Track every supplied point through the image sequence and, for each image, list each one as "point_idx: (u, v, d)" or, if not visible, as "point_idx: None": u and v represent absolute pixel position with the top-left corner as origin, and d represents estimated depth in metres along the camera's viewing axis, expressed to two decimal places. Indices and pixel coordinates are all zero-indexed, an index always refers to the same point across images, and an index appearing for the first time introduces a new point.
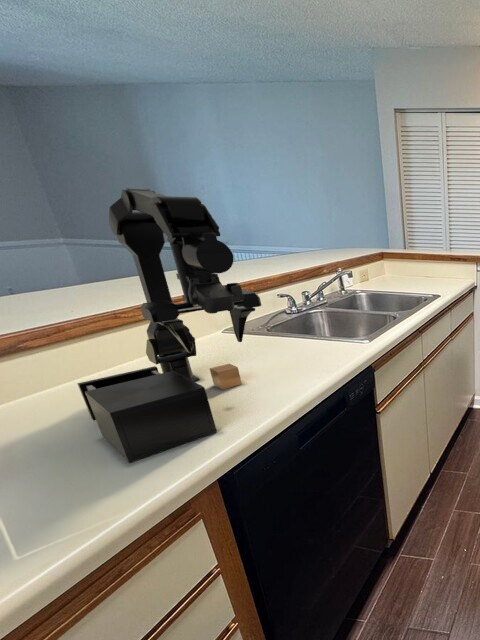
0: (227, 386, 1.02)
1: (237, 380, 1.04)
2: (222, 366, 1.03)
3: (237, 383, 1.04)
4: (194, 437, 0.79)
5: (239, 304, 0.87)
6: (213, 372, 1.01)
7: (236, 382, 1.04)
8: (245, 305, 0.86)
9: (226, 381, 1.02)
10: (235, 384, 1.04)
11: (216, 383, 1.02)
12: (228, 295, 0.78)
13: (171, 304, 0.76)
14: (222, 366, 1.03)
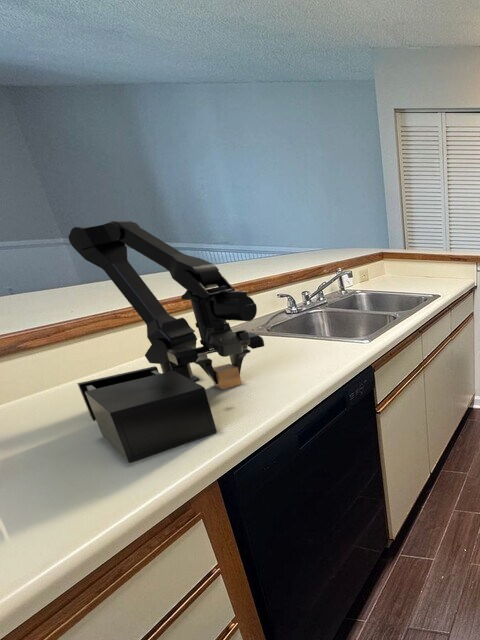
0: (227, 386, 1.02)
1: (237, 380, 1.04)
2: (222, 366, 1.03)
3: (237, 383, 1.04)
4: (194, 437, 0.79)
5: None
6: None
7: (236, 382, 1.04)
8: (251, 346, 1.04)
9: (226, 381, 1.02)
10: (235, 384, 1.04)
11: None
12: (238, 341, 0.96)
13: (192, 349, 0.94)
14: (222, 366, 1.03)
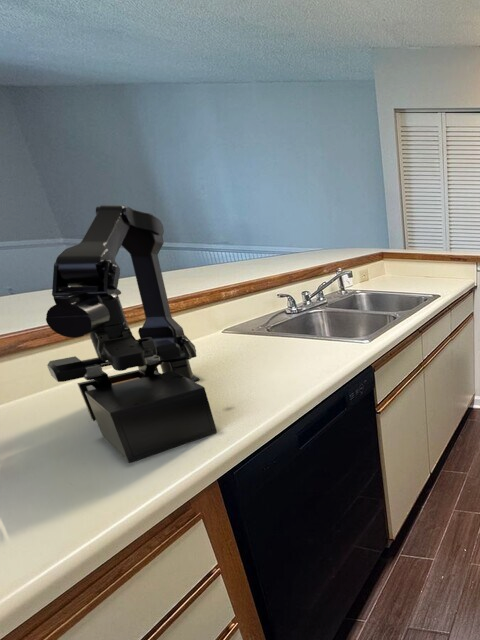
0: None
1: None
2: (127, 381, 0.84)
3: None
4: (194, 437, 0.79)
5: None
6: None
7: None
8: (163, 357, 0.85)
9: None
10: None
11: None
12: (138, 351, 0.77)
13: (78, 362, 0.75)
14: None
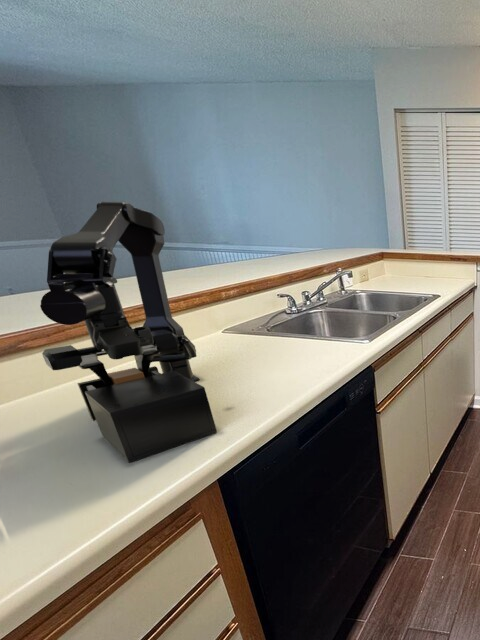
0: None
1: None
2: (124, 371, 0.83)
3: None
4: (194, 437, 0.79)
5: (141, 347, 0.83)
6: None
7: None
8: (160, 346, 0.84)
9: None
10: None
11: None
12: (134, 340, 0.76)
13: (73, 350, 0.75)
14: (124, 371, 0.83)
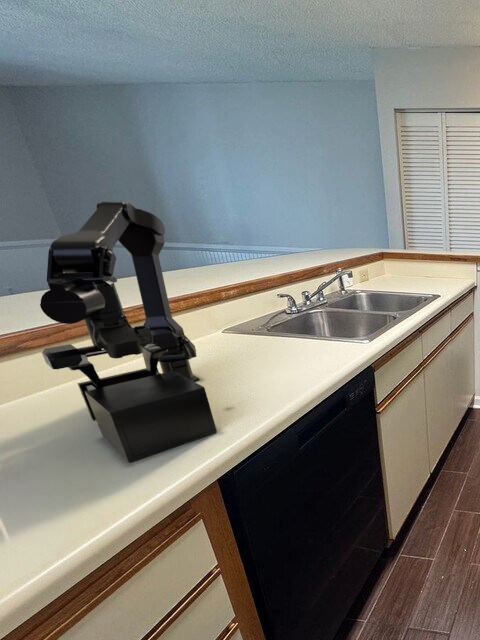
0: None
1: None
2: None
3: None
4: (194, 437, 0.79)
5: (150, 345, 0.84)
6: None
7: None
8: (160, 345, 0.84)
9: None
10: None
11: None
12: (134, 339, 0.76)
13: (73, 349, 0.75)
14: None
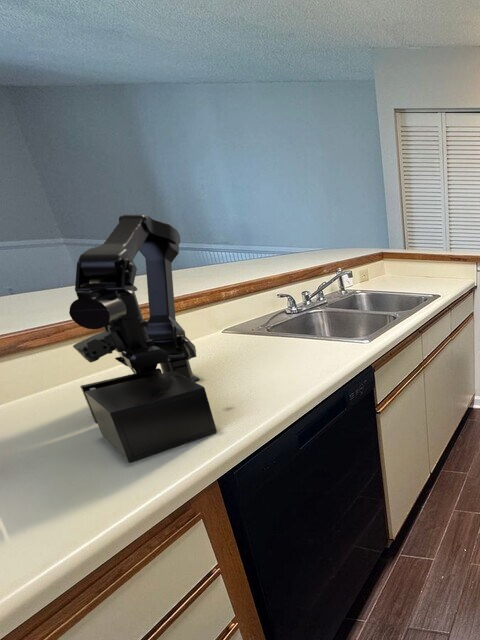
0: None
1: None
2: None
3: None
4: (194, 437, 0.79)
5: None
6: None
7: None
8: (126, 362, 0.83)
9: None
10: None
11: None
12: (78, 348, 0.80)
13: None
14: None
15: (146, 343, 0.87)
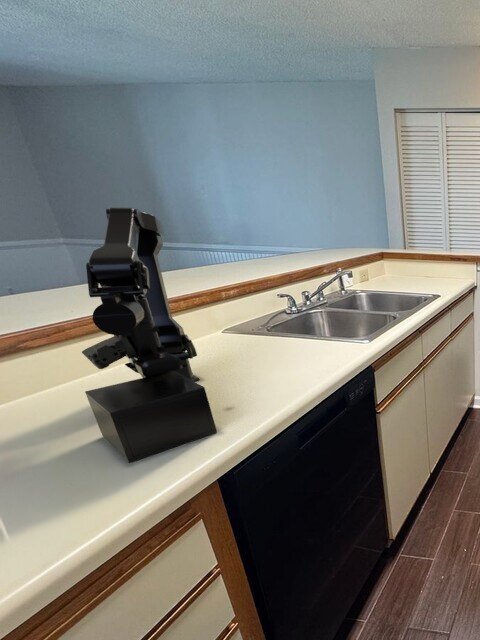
0: None
1: None
2: None
3: None
4: (194, 437, 0.79)
5: None
6: None
7: None
8: (137, 369, 0.80)
9: None
10: None
11: None
12: (87, 354, 0.77)
13: None
14: None
15: (157, 348, 0.84)
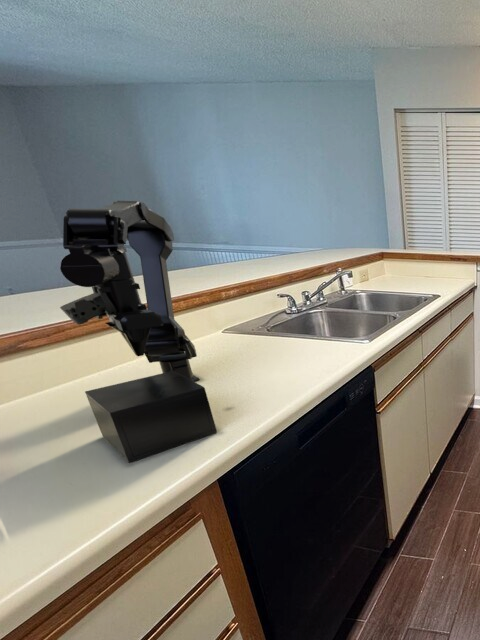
0: None
1: None
2: None
3: None
4: (194, 437, 0.79)
5: None
6: None
7: None
8: (116, 325, 0.79)
9: None
10: None
11: None
12: (65, 309, 0.76)
13: None
14: None
15: (138, 307, 0.83)
